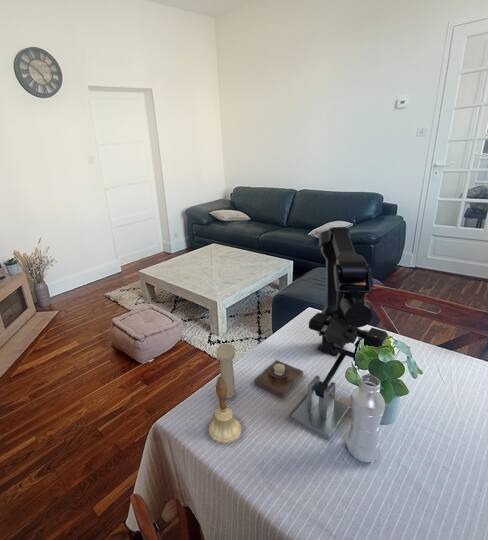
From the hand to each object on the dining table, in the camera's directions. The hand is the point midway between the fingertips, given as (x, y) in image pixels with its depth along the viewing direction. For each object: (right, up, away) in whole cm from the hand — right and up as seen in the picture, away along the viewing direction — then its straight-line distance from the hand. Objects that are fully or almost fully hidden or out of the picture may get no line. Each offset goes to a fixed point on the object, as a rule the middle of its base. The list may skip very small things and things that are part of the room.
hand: (344, 356), depth 92 cm
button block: (-16, -9, +8) cm, 20 cm away
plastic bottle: (-3, -18, -17) cm, 25 cm away
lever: (-5, -3, -4) cm, 7 cm away
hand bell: (-33, -17, -7) cm, 38 cm away
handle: (-31, -12, +4) cm, 34 cm away
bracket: (-9, -14, -6) cm, 17 cm away
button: (-16, -6, +7) cm, 19 cm away
